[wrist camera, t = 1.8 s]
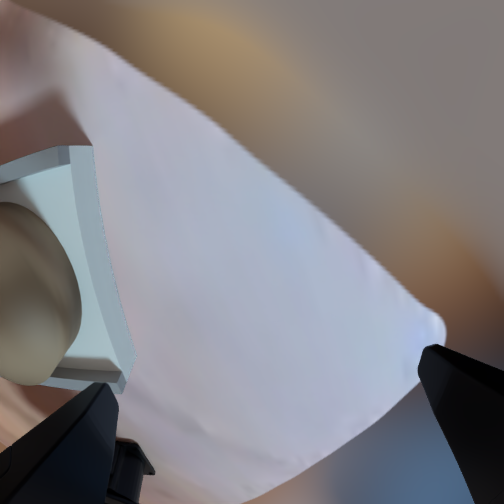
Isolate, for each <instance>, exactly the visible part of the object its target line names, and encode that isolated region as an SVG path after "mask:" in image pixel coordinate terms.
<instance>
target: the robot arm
mask: <svg viewBox="0 0 504 504" xmlns="http://www.w3.org/2000/svg"><path fill="white" fill-rule="evenodd" d="M418 375H419V378H420V380H421V383H422V385H423V388H424V390H425V393H426V395H427V398H428V400H429V403H430V406H431V408H432V411H433V413H434V415H435V417H436V419H437V421H438V423H439V425H440V427H441V429H442V431H443V433H444V435H445V438H446V440H447V442H448V444H449V446H450V448H451V450H452V452H453V454H454V456H455V459H456V461H457V463H458V465H459V468H460V470H461V472H462V474H463V476H464V479H465V481H466V483H467V486H468V488H469V491H470V493H471V496H472V498H473V501H474V503H475V504H504V371H502V370H500V369H498V368H495V367H493V366H490V365H488V364H485V363H483V362H480V361H478V360H475V359H473V358H470V357H468V356H466V355H463V354H461V353H458V352H456V351H453V350H451V349H448V348H446V347H443V346H441V345H439V344H433V345H429V346H426V347H425V348H424V349H423V352H422V355H421V359H420V362H419V365H418ZM118 412H119V406H118V402H117V400H116V398H115V396H114V394H113V392H112V389H111V387H110V386H109V384H108V383H106V382H93V383H92V384H91V385H89V386H88V387H87V388H85V389H84V390H83V391H81V392H80V393H79V394H78V395H76V396H75V397H74V398H72V399H71V400H70V401H68V402H67V403H66V404H65V405H63V406H62V407H61V408H59V409H58V410H57V411H55V412H54V413H53V414H51V415H50V416H49V417H47V418H46V419H45V420H44V421H42V422H41V423H40V424H38V425H37V426H36V427H34V428H33V429H32V430H30V431H29V432H28V433H26V434H25V435H24V436H22V437H21V438H20V439H18V440H17V441H16V442H14V443H13V444H12V446H9V447H8V448H6V449H5V450H4V451H3V452H1V453H0V504H139V497H140V491H141V485H142V480H143V475H155V470H154V469H153V467H152V466H151V464H150V463H149V461H148V460H147V458H146V456H145V455H144V453H143V452H142V450H141V448H140V447H139V446H138V445H137V444H133V443H123V442H115V439H116V429H117V420H118Z"/></svg>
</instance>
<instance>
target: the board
mask: <svg viewBox="0 0 504 504" xmlns="http://www.w3.org/2000/svg"><path fill="white" fill-rule="evenodd" d="M0 202H12V203H16V204H19V205H21V206H24V207H26V208H27V209H29V210H31V211H32V212H34V213H35V214H36V215H37V216H38V217H39V218H41V219H42V220H43V221H44V222H45V223H46V225H47V226H48V227H49V228H50V229H51V230H52V232H53V233H54V234H55V236H56V237H57V238H58V240H59V242H60V243H61V245H62V246H63V248H64V250H65V252H66V254H67V256H68V258H69V260H70V262H71V265H72V267H73V269H74V272H75V275H76V278H77V281H78V286H79V290H80V295H81V302H82V319H81V326H80V329H79V333H78V335H77V337H76V339H75V341H74V342H73V344H72V345H71V346H70V348H69V349H68V351H67V352H66V354H65V355H64V356H63V358H62V359H61V361H60V362H59V364H58V365H57V367H56V368H55V370H54V371H53V373H52V374H51V376H50V377H49V378H48V379H47V380H46V381H45V382H43V383H41V384H38V385H44V386H50V387H57V388H64V389H72V390H80V391H83V390H84V389H85V388H87V387H88V386H89V385H91V384H92V383H93V382H106V383H108V384H109V386H110V387H111V389H112V392H113V394H122V393H123V390H124V388H125V385H126V382H127V380H128V377H129V375H130V372H131V370H132V367H133V364H134V362H135V359H136V357H137V355H136V352H135V349H134V346H133V343H132V340H131V337H130V334H129V331H128V327H127V324H126V321H125V317H124V314H123V310H122V307H121V303H120V299H119V296H118V292H117V288H116V284H115V280H114V276H113V272H112V267H111V263H110V258H109V254H108V249H107V244H106V239H105V234H104V228H103V223H102V217H101V211H100V205H99V198H98V191H97V183H96V175H95V166H94V156H93V146H54V147H51V148H48V149H45V150H42V151H39V152H36V153H33V154H30V155H27V156H24V157H22V158H19V159H16V160H14V161H11V162H8V163H6V164H3V165H1V166H0ZM0 377H1V376H0Z"/></svg>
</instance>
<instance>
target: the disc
mask: <svg viewBox="0 0 504 504" xmlns="http://www.w3.org/2000/svg"><path fill="white" fill-rule="evenodd" d="M81 319H82V302H81V295H80V290H79V286H78V281H77V278H76V275H75V272H74V269H73V267H72V265H71V262H70V260H69V258H68V256H67V254H66V252H65V250H64V248H63V246H62V245H61V243H60V242H59V240H58V238H57V237H56V236H55V234H54V233H53V232H52V230H51V229H50V228H49V227H48V226H47V225H46V223H45V222H44V221H43V220H42V219H41V218H39V217H38V216H37V215H36V214H35V213H34V212H32V211H31V210H29V209H27V208H26V207H24V206H21V205H19V204H16V203H12V202H0V376H1V377H3V378H5V379H7V380H9V381H11V382H14V383H17V384H20V385H27V386H31V385H38V384H41V383H43V382H45V381H46V380H47V379H48V378H49V377H50V376H51V374H52V373H53V371H54V370H55V368H56V367H57V365H58V364H59V362H60V361H61V359H62V358H63V356H64V355H65V354H66V352H67V351H68V349H69V348H70V346H71V345H72V344H73V342H74V341H75V339H76V337H77V335H78V333H79V329H80V326H81Z"/></svg>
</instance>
